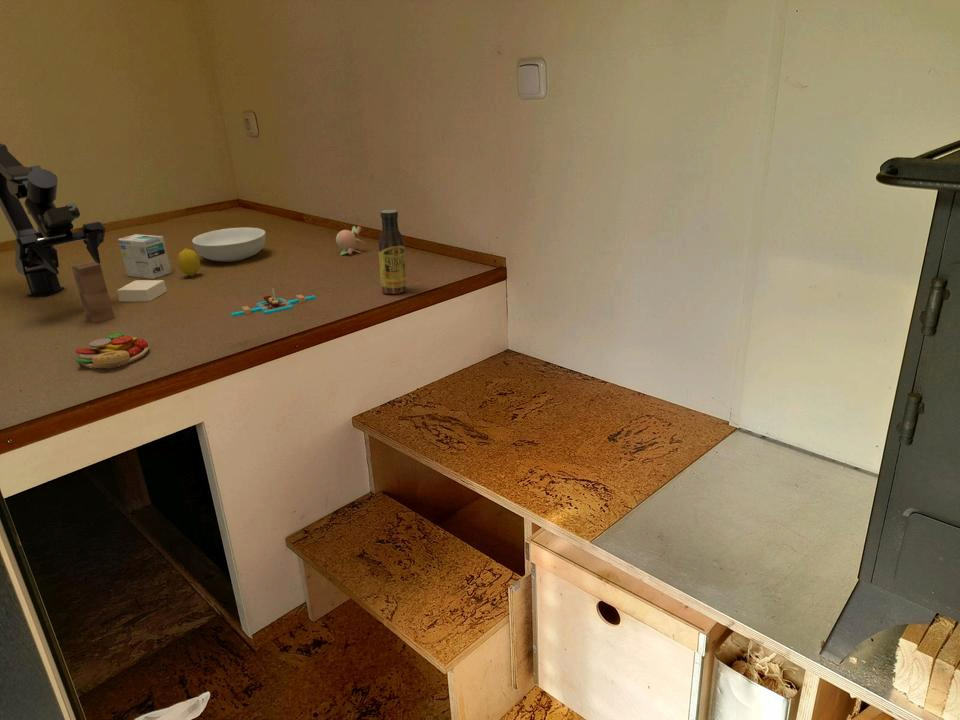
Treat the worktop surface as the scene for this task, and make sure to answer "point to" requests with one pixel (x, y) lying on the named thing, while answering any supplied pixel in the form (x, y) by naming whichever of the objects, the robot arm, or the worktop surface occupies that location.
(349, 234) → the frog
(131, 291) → the cream plinth
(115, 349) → the toy food set
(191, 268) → the lemon
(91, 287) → the walnut column
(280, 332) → the worktop surface
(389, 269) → the sauce bottle
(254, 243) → the serving bowl
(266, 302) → the multicoloured piece
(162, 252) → the light bulb box
